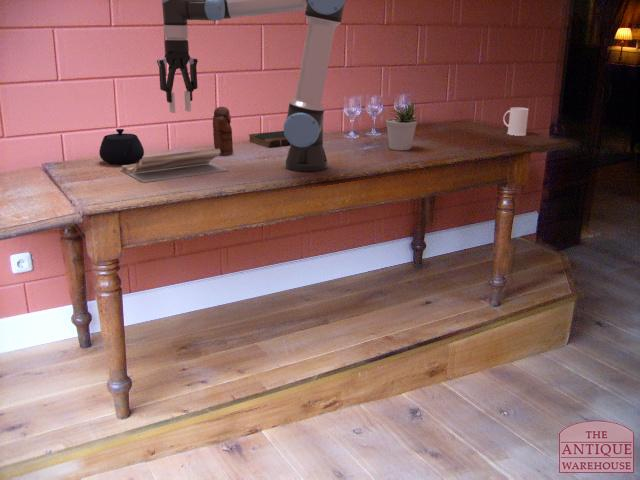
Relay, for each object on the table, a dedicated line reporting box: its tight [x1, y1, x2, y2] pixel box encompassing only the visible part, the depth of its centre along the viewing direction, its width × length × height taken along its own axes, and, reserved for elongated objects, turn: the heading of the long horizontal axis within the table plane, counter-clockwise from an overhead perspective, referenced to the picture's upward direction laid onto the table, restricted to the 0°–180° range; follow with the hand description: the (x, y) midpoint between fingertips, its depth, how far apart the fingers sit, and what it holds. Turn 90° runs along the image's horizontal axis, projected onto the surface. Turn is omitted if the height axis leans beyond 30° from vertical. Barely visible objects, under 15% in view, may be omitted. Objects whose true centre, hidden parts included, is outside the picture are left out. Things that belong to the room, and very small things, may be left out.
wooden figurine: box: [212, 106, 234, 157], centre depth 256 cm, size 12×6×18 cm, turn 25°
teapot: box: [98, 128, 145, 166], centre depth 238 cm, size 25×16×12 cm, turn 34°
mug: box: [502, 106, 530, 137], centre depth 307 cm, size 12×8×12 cm
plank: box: [133, 148, 221, 173], centre depth 226 cm, size 11×28×2 cm, turn 126°
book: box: [248, 130, 290, 149], centre depth 282 cm, size 17×4×25 cm
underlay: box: [120, 162, 229, 184], centre depth 229 cm, size 20×31×1 cm, turn 126°
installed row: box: [121, 163, 207, 174], centre depth 234 cm, size 7×30×1 cm, turn 126°
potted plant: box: [385, 100, 420, 152], centre depth 268 cm, size 13×14×20 cm
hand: (180, 111), depth 221 cm, fingers open, 5 cm apart
